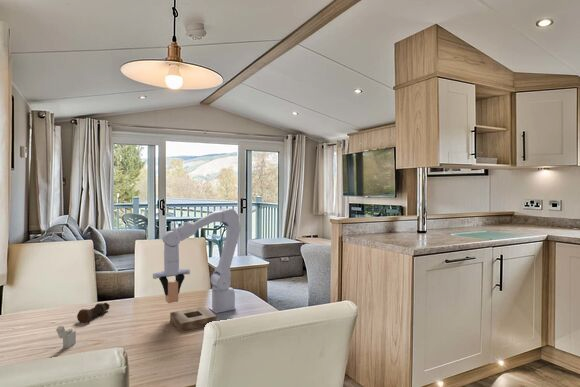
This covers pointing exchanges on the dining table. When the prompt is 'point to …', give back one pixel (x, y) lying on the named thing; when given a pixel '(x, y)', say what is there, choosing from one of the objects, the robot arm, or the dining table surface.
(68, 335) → the grey thin upright piece
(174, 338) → the dining table surface
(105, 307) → the dark brown elongated piece
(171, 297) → the peg
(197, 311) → the slot block
